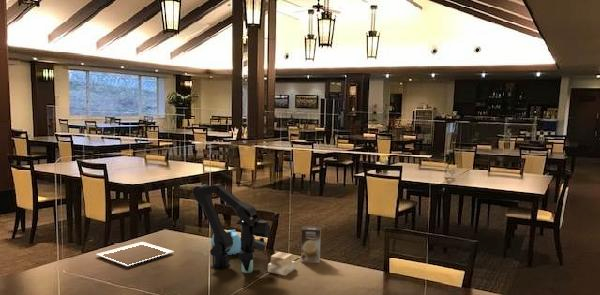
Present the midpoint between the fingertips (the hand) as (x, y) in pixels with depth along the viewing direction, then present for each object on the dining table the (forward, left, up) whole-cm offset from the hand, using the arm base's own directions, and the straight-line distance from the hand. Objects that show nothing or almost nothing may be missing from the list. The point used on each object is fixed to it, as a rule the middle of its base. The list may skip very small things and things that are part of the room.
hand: (247, 268), depth 201 cm
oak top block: (+13, +8, +2) cm, 16 cm away
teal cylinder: (0, 0, -1) cm, 1 cm away
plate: (-59, -9, -2) cm, 60 cm away
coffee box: (+19, +26, -1) cm, 32 cm away
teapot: (-23, +19, -1) cm, 30 cm away
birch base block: (+13, +8, -2) cm, 15 cm away
